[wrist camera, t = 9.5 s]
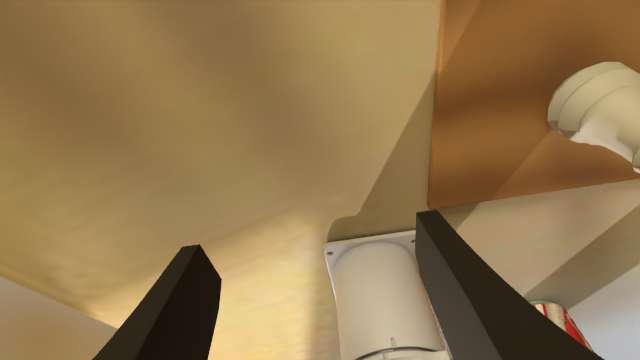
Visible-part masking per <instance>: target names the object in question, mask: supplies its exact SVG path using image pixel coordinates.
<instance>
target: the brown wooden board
mask: <svg viewBox="0 0 640 360" xmlns="http://www.w3.org/2000/svg"><path fill="white" fill-rule="evenodd" d="M602 62H620V63H622V64H624V65H625V66H627V67H629V68H630V69H632V70H634V71H636V72H637V73H639V74H640V0H441V10H440V25H439V39H438V54H437V68H436V82H435V97H434V111H433V125H432V140H431V154H430V168H429V183H428V197H427V205H428V208H429V209H435V208H442V207H449V206H456V205H463V204H469V203H476V202H483V201H490V200H497V199H504V198H510V197H517V196H524V195H531V194H538V193H544V192H551V191H558V190H565V189H572V188H579V187H585V186H592V185H599V184H606V183H613V182H619V181H626V180H633V179H640V173H638V172H635V171H634V169H633V166H632V163H631V162H630V161H629V160H627V159H626V158H624V157H623V156H622V155H620V154H618V153H616V152H614V151H612V150H610V149H608V148H606V147H604V146H601V145H590V144H588V143H577V142H574V141H572V140H570V139H567V138H565V137H563V136H562V134H561V133H559V132H556V131H554V130H552V128H551V126H550V125H549V123H548V121H547V117H548V106H549V102H550V100H551V98H552V96H553V94H554V92H555V91H556V90H557V89H558V88H559V86H560V85H561V84H562V83H563V82H564V81H565V80H566V79H567V78H569V77H570V76H572V75H573V74H575V73H576V72H578V71H579V70H582V69H585V68H588V67H590V66H593V65H596V64H599V63H602Z"/></svg>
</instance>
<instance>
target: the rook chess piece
mask: <svg viewBox="0 0 640 360" xmlns="http://www.w3.org/2000/svg"><path fill="white" fill-rule="evenodd" d="M547 121H548V123H549V125H550V126H551V128H552V130H554V131H556V132H559V133H561V134H562V136H563V137H565V138H567V139H570V140H572V141H574V142H577V143H588V144H590V145H601V146H604V147H606V148H608V149H610V150H612V151H614V152H616V153H618V154H620V155H622V156H623V157H624V158H626V159H627V160H629V161H630V162H631V163H632V166H633V169H634V171H635V172H638V173H640V74H639V73H637V72H636V71H634V70H632V69H630V68H629V67H627V66H625V65H624V64H622V63H620V62H602V63H599V64H596V65H593V66H590V67H588V68H585V69H582V70H579V71H578V72H576V73H575V74H573V75H572V76H570V77H569V78H567V79H566V80H565V81H564V82H563V83H562V84H561V85H560V86H559V88H558V89H557V90H556V91H555V92H554V94H553V96H552V98H551V100H550V102H549V106H548V117H547Z"/></svg>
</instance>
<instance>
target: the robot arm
mask: <svg viewBox="0 0 640 360" xmlns="http://www.w3.org/2000/svg"><path fill="white" fill-rule="evenodd" d="M323 251H324V255H325V259H326V263H327V267H328V271H329V275H330V279H331V283H332V287H333V291H334V295H335V299H336V304H337V315H338V326H339V337H340V348H341V358H342V360H451V359H450V357H449V354H448V351H446V350H445V349H444V346H443V343H442V340H441V337H440V334H439V331H438V328H437V325H436V322H435V319H434V316H433V313H432V310H431V307H430V304H429V301H428V298H427V295H426V292H425V289H426V291H427V294H428V296H429V299H430V301H431V304H432V306H433V309H434V311H435V314H436V316H437V319H438V321H439V324H440V326H441V329H442V331H443V334H444V336H445V339H446V341H447V344H448V346H449V349H450V351H451V354H452V357H453V360H604V359H603V358H601V357H600V356H598V355H597V354H596V353H594V352H593V351H591V350H590V349H588V348H587V347H586V346H584V345H583V344H581V343H580V342H579V341H577V340H576V339H575V338H573V337H572V336H571V335H569V334H568V333H567V332H566V331H564V330H563V329H562V328H560V327H559V326H558V325H556V324H555V323H554V322H553V321H551V320H550V319H549V318H548V317H546V316H545V315H544V314H543V313H541V312H540V311H539V310H538V309H536V308H535V307H534V306H533V305H532V304H530V303H529V302H528V301H527V300H526V299H525V298H523V297H522V296H521V295H520V294H519V293H518V292H517V291H515V290H514V289H513V288H512V287H511V286H510V285H509V284H508V283H507V282H505V281H504V280H503V279H502V278H501V277H500V276H499V275H498V274H497V273H496V272H495V271H494V270H493V269H492V268H491V267H490V266H489V265H488V264H487V263H486V262H484V261H483V260H482V259H481V258H480V257H479V256H478V255H477V254H476V253H475V252H474V251H473V249H472V248H471V247H470V246H469V245H468V244H467V243H466V242H465V241H464V240H463V239H462V238H461V237H460V236H459V235H458V234H457V232H456V231H455V230H454V229H453V228H452V227H451V226H450V225H449V223H448V222H447V221H446V220H445V219H444V218H443V216H442V215H441V214H440V213H439V212H438V211H437V210H431V211H424V212H417V213H416V230H412V231H405V232H398V233H391V234H384V235H377V236H370V237H363V238H356V239H349V240H342V241H335V242H328V243H325V244H324V245H323ZM419 270H420V274H421V277H422V280H421V277H420V274H419ZM221 280H222V279H221V278H220V276H219V274H218V273H217V271H216V270H215V268H214V266H213V265H212V263H211V262H210V260H209V258H208V257H207V255H206V254H205V252H204V250H203V249H202V247H201V246H200V244H199V245H192V246H185V247H182V248H181V249H180V251H179V252H178V253H177V254H176V256H175V257H174V258H173V260H172V261H171V262H170V264H169V265H168V266H167V268H166V269H165V270H164V272H163V273H162V275H161V276H160V277H159V279H158V280H157V281H156V283H155V284H154V285H153V287H152V288H151V289H150V290H149V292H148V293H147V294H146V296H145V297H144V298H143V300H142V301H141V302H140V303H139V305H138V306H137V307H136V309H135V310H134V311H133V312H132V314H131V315H130V316H129V317H128V318H127V320H126V321H125V322H124V323H123V324H122V326H121V327H120V328H119V329H118V331H117V332H116V333H115V334H114V335H113V337H112V338H111V339H110V340H109V341H108V343H107V344H106V345H105V346H104V347H103V349H101V351H100V352H99V353H98V354H97V355H96V356H95V357H94V358H93V359H92V360H207V359H208V355H209V350H210V346H211V342H212V337H213V333H214V328H215V324H216V319H217V315H218V310H219V302H220V292H221ZM422 281H423V283H422ZM423 284H424V286H425V289H424V286H423Z"/></svg>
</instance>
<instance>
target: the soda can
mask: <svg viewBox="0 0 640 360" xmlns="http://www.w3.org/2000/svg"><path fill="white" fill-rule="evenodd" d="M529 303H530V304H532V305H533V306H534V307H535V308H536V309H538V310H539V311H540V312H541V313H543V314H544V315H545V316H546V317H548V318H549V319H550V320H551V321H553V322H554V323H555V324H556V325H558V326H559V327H560V328H562V329H563V330H564V331H566V332H567V333H568V334H569V335H571V336H572V337H573V338H575V339H576V340H577V341H579V342H580V343H581V344H583V345H584V346H586V347H587V348H588V349H590V350H591V351H593V349H592V348H591V346H590V345H589V343H588V342H587V340H586V339H585V338H584V336H583V335H582V333H581V332H580V330H579V329H578V327H577V326H576V324H575V323H574V321H573V320H572V319H571V317H570V316H569V314H568V313H567V311H566V310H565V309H564V308H563V307H562V306H561V305H559V304H555V303H552V302H550V301H546V300H537V301H531V302H529ZM593 352H594V351H593ZM594 353H595V352H594Z"/></svg>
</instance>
